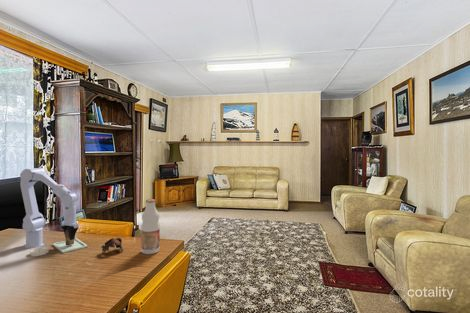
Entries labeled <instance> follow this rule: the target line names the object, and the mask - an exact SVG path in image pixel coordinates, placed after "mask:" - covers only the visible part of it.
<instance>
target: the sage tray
mask: <svg viewBox="0 0 470 313" xmlns="http://www.w3.org/2000/svg"><path fill="white" fill-rule="evenodd" d="M52 246H53V247H54V248H55V249H56V250H58V251H59V252H60V253H62V254H66V253H70V252H76V251H78V250H82V249H86V248H89V247H88V244H86V243H85V242H83V241H82V240H80V239H79V238H74V244H72V245H66V240H62V241H58V242H54V243H52Z"/></svg>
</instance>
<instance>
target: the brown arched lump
mask: <svg viewBox="0 0 470 313" xmlns="http://www.w3.org/2000/svg"><path fill="white" fill-rule="evenodd" d="M115 247H116V249H118V252H119V254H121V253H123V251H124V248H123V247H122V238H121V237H116V238H110V239H108V240H107V241H105V242H104V243H103V244H102V245H101V249H102V252H104V253H106V252H108V251H110V248H115Z"/></svg>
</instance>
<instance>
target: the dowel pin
mask: <svg viewBox="0 0 470 313" xmlns="http://www.w3.org/2000/svg"><path fill="white" fill-rule="evenodd" d="M74 239H75V238H74ZM74 239H73V240H70V239H69V233H68V230H66V237H65V241H66V245H72V244H74Z"/></svg>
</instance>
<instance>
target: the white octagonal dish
mask: <svg viewBox="0 0 470 313" xmlns="http://www.w3.org/2000/svg"><path fill="white" fill-rule="evenodd" d="M29 251H30V252H29V255H30V257H39V256H44V255H47V253H49V247H48V246H40V247H35V248H31V250H30V249H29Z"/></svg>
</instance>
